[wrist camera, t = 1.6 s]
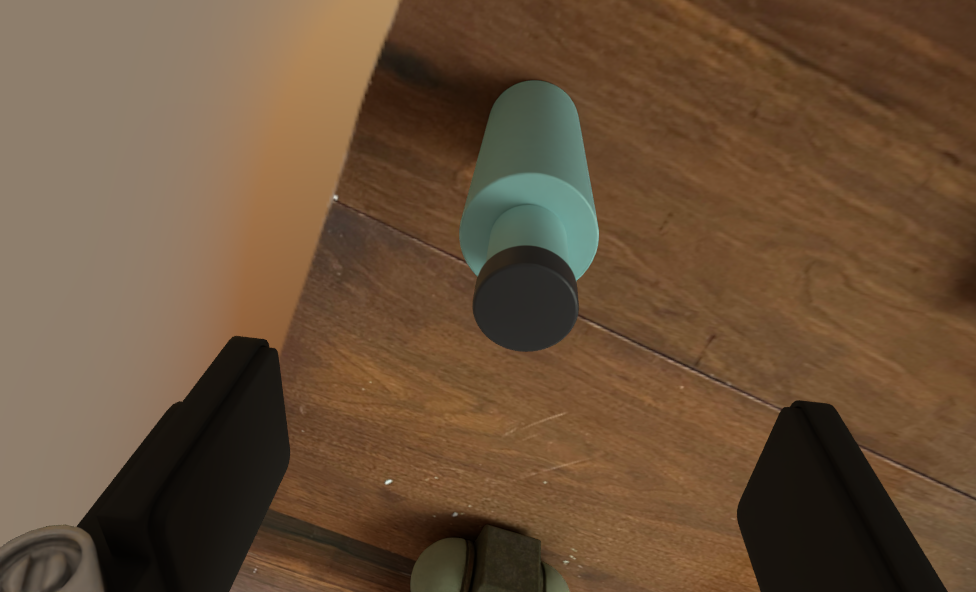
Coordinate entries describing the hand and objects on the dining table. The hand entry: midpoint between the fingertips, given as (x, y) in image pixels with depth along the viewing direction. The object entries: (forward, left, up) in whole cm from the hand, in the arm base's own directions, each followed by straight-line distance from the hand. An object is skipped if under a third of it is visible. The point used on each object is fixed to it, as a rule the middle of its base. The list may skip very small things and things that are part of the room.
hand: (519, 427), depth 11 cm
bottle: (0, 0, -18) cm, 18 cm away
